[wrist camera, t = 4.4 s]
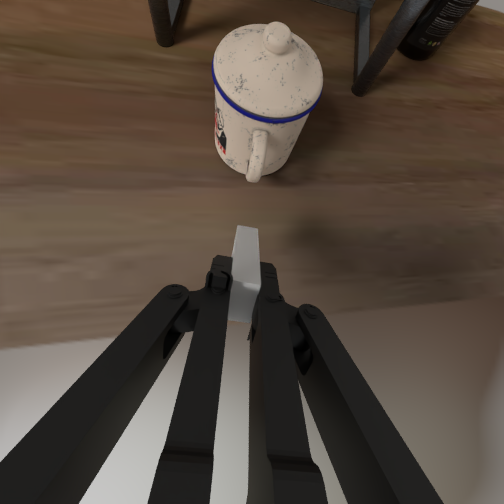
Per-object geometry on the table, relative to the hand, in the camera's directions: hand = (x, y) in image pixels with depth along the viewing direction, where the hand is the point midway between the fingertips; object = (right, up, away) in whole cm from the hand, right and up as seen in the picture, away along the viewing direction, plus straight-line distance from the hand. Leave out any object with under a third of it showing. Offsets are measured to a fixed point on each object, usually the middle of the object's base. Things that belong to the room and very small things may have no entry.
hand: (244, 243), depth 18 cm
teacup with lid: (+1, +10, +9) cm, 14 cm away
